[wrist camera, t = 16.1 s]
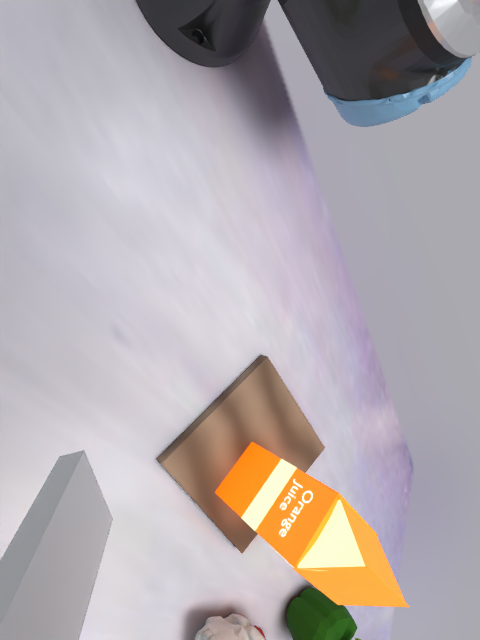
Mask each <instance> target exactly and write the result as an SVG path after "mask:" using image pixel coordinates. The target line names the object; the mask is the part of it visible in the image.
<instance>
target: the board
mask: <svg viewBox="0 0 480 640" xmlns="http://www.w3.org/2000/svg"><path fill="white" fill-rule="evenodd" d="M251 442H254V443H255V444H257V445H259V446H260V447H262V448H264V449H265V450H267V451H269V452H270V453H272V454H274V455H275V456H277V457H279V458H280V459H283V460H285V461H286V462H288V463H290V464H291V465H293V466H295V467H296V468H297V469H299V470H301V471H302V472H304V473H306V471H307V470H308V469H309V467H310V466H311V465H312V464H313V462H314V461H315V460H316V459H317V457H318V456H319V455H320V453H321V452H322V451H323V450H324V448H325V447H324V446H323V444H322V443H321V441H320V439H319V438H318V436H317V435H316V433H315V431H314V430H313V428H312V427H311V425H310V423H309V422H308V420H307V419H306V417H305V415H304V414H303V412H302V411H301V409H300V407H299V406H298V404H297V403H296V401H295V399H294V398H293V396H292V395H291V393H290V391H289V390H288V388H287V387H286V385H285V384H284V382H283V380H282V379H281V377H280V376H279V374H278V372H277V371H276V369H275V368H274V366H273V364H272V363H271V361H270V360H269V358H268V357H267V356H263V355H261V356H259V357H258V358H257V359H256V360H255V361H254V362H253V363H252V364H251V365H250V366H249V367H248V368H247V369H246V370H245V371H244V372H243V373H242V374H241V375H240V376H239V377H238V378H237V379H236V380H235V381H234V382H233V383H232V384H231V385H230V386H229V387H228V388H227V389H226V390H225V391H224V392H223V393H222V394H221V395H220V396H219V397H218V398H217V399H216V400H215V401H214V402H213V403H212V404H211V405H210V406H209V407H208V408H207V409H206V410H205V411H204V412H203V413H202V414H201V415H200V416H199V417H198V418H197V419H196V420H195V421H194V422H193V423H192V424H191V425H190V426H189V427H188V428H187V429H186V430H185V431H184V432H183V433H182V434H181V435H180V436H179V437H178V438H177V439H176V440H175V441H174V442H173V443H172V444H171V445H170V446H169V447H168V448H167V449H166V450H165V451H164V452H163V453H162V454H161V455H160V456H159V457H158V458H157V460H158V461H159V462H160V463H161V465H162V466H163V467H164V468H165V469H166V470H167V471H168V472H169V473H170V475H171V476H172V477H173V478H174V479H175V480H176V481H177V482H178V483H179V484H180V486H181V487H182V488H183V489H184V490H185V491H186V492H187V493H188V494H189V496H190V497H191V498H192V499H193V500H194V501H195V502H196V503H197V504H198V506H199V507H200V508H201V509H202V510H203V511H204V512H205V513H206V514H207V516H208V517H209V518H210V519H211V520H212V521H213V522H214V523H215V524H216V525H217V527H218V528H219V529H220V530H221V531H222V532H223V533H224V534H225V535H226V537H227V538H228V539H229V540H230V541H231V542H232V543H233V544H234V545H235V547H236V548H237V549H238V550H239V551H240V552H241V553H243V552H244V551H245V549H246V548H247V547H248V545H249V544H250V543H251V542H252V540H253V539H254V538H255V536H256V535H257V534H258V533H257V532H256V531H254V530H253V529H252V528H251V527H250V526H249V525H248V524H247V523H246V522H245V521H244V520H243V519H242V518H241V517H240V516H239V515H238V514H237V513H236V512H235V511H234V510H233V509H232V508H231V507H229V506H228V505H227V504H226V503H225V502H224V501H223V500H222V499H221V498H220V497H219V496H218V495H217V494H216V493H215V491H216V490H217V489H218V487H219V486H220V485H221V483H222V482H223V480H224V479H225V478H226V476H227V475H228V474H229V472H230V471H231V470H232V468H233V467H234V465H235V464H236V463H237V461H238V460H239V459H240V457H241V456H242V454H243V453H244V452H245V450H246V449H247V448H248V446H249V445H250V444H251Z"/></svg>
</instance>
